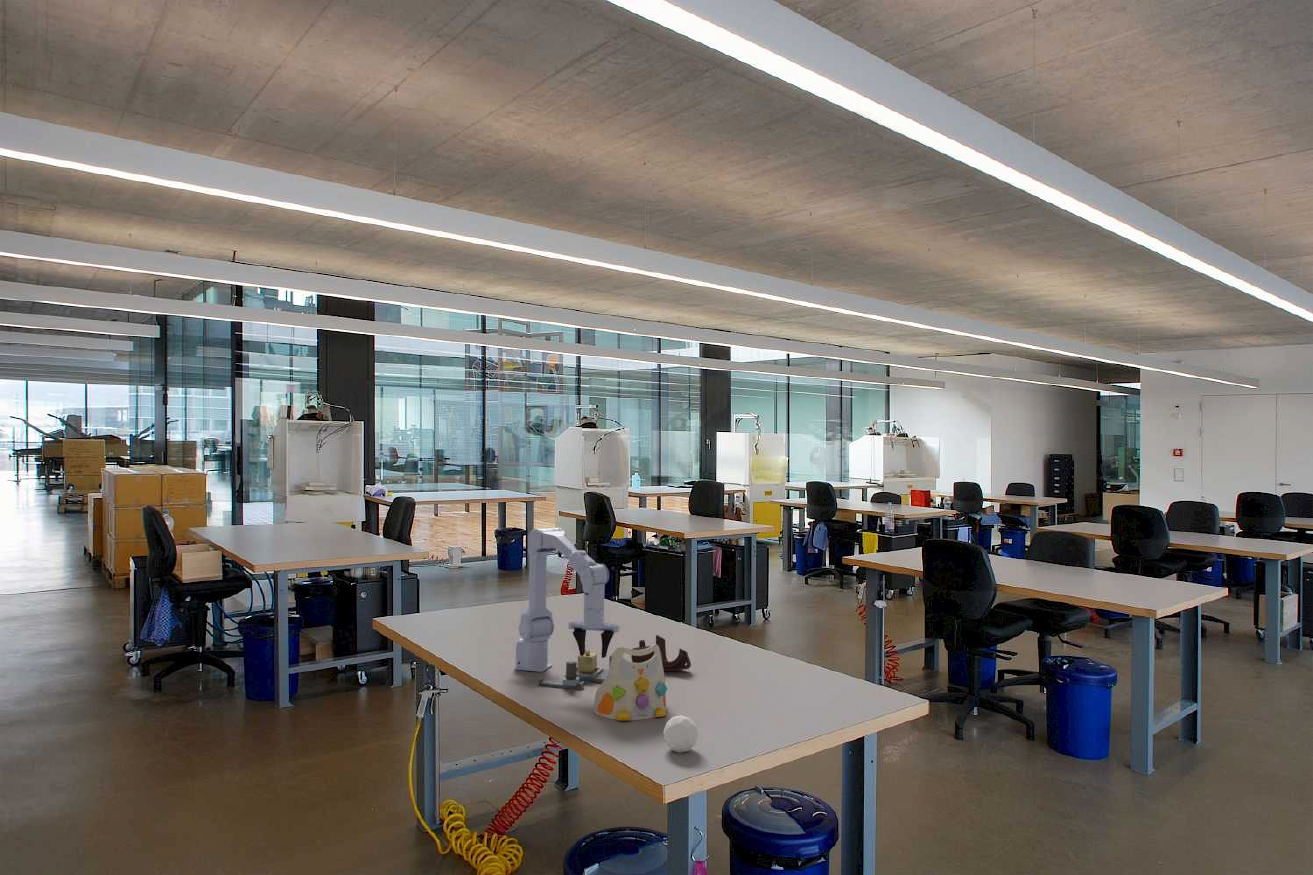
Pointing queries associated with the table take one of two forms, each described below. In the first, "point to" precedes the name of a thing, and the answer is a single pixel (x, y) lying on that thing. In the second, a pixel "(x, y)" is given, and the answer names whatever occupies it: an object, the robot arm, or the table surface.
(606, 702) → the shape sorter
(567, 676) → the lever
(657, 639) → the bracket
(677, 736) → the ball
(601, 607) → the robot arm
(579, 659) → the housing
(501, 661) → the table surface
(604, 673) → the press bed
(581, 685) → the rail
